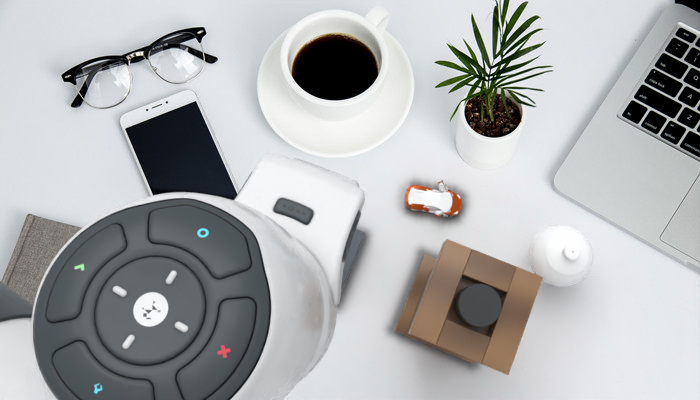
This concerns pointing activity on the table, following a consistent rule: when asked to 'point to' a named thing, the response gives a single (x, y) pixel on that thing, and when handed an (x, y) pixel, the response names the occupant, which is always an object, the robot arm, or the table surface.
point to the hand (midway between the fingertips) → (288, 313)
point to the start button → (478, 305)
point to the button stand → (439, 306)
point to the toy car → (433, 200)
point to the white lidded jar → (561, 255)
